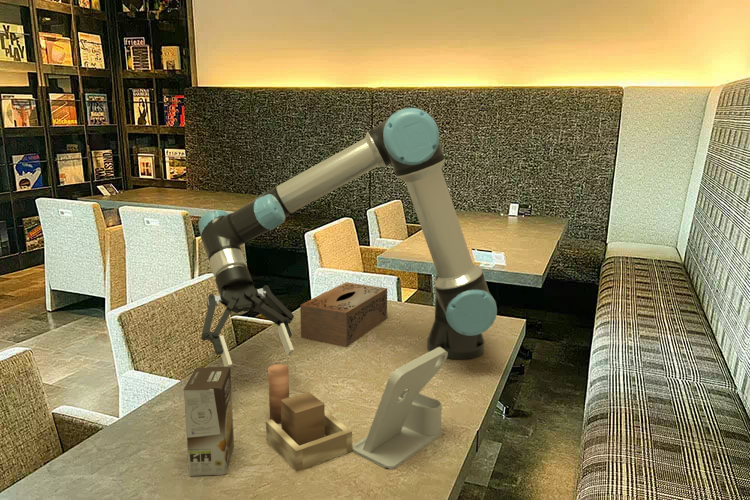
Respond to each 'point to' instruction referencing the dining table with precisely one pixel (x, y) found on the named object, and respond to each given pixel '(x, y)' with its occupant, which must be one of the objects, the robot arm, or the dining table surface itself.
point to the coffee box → (209, 420)
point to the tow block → (294, 408)
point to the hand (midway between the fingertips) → (260, 360)
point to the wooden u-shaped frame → (311, 444)
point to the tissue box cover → (343, 313)
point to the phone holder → (404, 414)
